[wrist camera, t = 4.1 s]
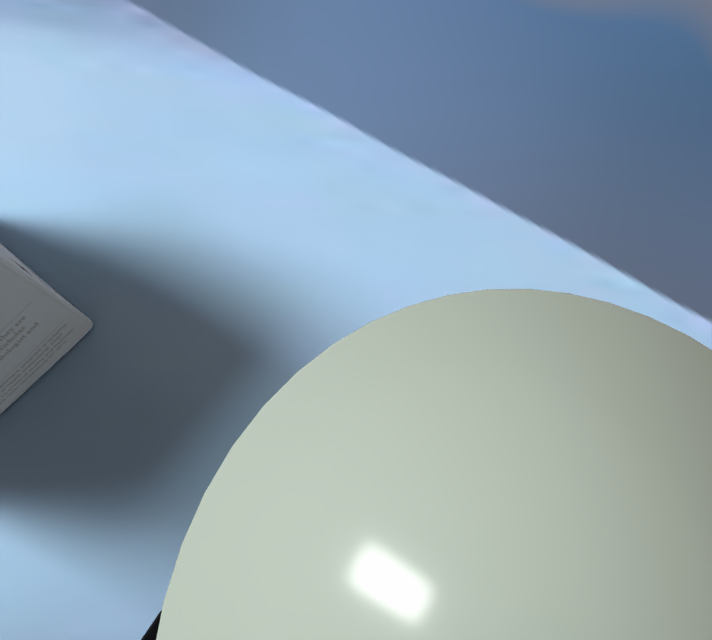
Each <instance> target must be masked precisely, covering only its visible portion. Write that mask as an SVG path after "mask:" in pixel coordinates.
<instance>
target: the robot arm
mask: <svg viewBox="0 0 712 640" xmlns="http://www.w3.org/2000/svg"><path fill="white" fill-rule="evenodd" d="M161 613H162V610H161V611H160V613H159V614H158V616H157V617H156V619H155V620H154V622H153V623H152V625H151V626H150V627H149V629H148V630H147V632H146V633H145V635H144V636H143V638H142V639H141V640H156V638H157V633H158V628H159V623H160V618H161Z"/></svg>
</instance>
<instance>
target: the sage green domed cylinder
mask: <svg viewBox="0 0 712 640" xmlns="http://www.w3.org/2000/svg"><path fill="white" fill-rule="evenodd" d="M156 640H712V350H711V349H709V348H708V347H706V346H704V345H703V344H701V343H699V342H698V341H696V340H695V339H693V338H691V337H690V336H688V335H686V334H684V333H682V332H680V331H678V330H675V329H673V328H671V327H669V326H667V325H665V324H663V323H661V322H659V321H657V320H655V319H653V318H651V317H648V316H645V315H643V314H640V313H637V312H634V311H631V310H628V309H626V308H623V307H620V306H617V305H614V304H611V303H608V302H604V301H600V300H595V299H591V298H587V297H582V296H578V295H574V294H569V293H561V292H551V291H542V290H533V289H493V290H481V291H474V292H467V293H460V294H453V295H447V296H443V297H440V298H436V299H432V300H429V301H425V302H422V303H418V304H414V305H411V306H408V307H405V308H403V309H400V310H398V311H396V312H393V313H391V314H389V315H386V316H384V317H382V318H379V319H377V320H375V321H372V322H370V323H368V324H366V325H365V326H363V327H361V328H360V329H358V330H356V331H355V332H353V333H351V334H349V335H348V336H346V337H344V338H343V339H341V340H339V341H338V342H336V343H334V344H332V345H331V346H330V347H329V348H327V349H326V350H325V351H323V352H322V353H321V354H320V355H318V356H317V357H316V358H314V359H313V360H312V361H311V362H309V363H308V364H307V365H305V366H304V367H303V368H302V369H300V370H299V371H298V372H297V373H296V374H295V375H294V376H293V377H292V378H291V379H290V380H289V381H288V382H287V383H286V384H285V385H284V386H283V387H282V388H281V389H280V390H279V391H278V392H277V393H276V394H275V395H274V396H273V397H272V398H271V399H270V400H269V401H268V402H267V403H266V404H265V405H264V406H263V407H262V408H261V410H260V411H259V412H258V414H257V415H256V416H255V417H254V419H253V420H252V421H251V423H250V424H249V425H248V427H247V428H246V429H245V430H244V432H243V433H242V434H241V436H240V437H239V438H238V439H237V441H236V442H235V443H234V445H233V446H232V448H231V449H230V451H229V453H228V454H227V456H226V458H225V459H224V461H223V463H222V464H221V466H220V468H219V470H218V471H217V473H216V475H215V476H214V478H213V480H212V481H211V483H210V485H209V486H208V488H207V490H206V491H205V493H204V496H203V498H202V500H201V502H200V505H199V507H198V509H197V511H196V514H195V516H194V518H193V520H192V523H191V525H190V527H189V529H188V532H187V534H186V536H185V538H184V541H183V543H182V545H181V549H180V552H179V555H178V558H177V561H176V564H175V568H174V571H173V574H172V577H171V580H170V583H169V587H168V590H167V593H166V596H165V599H164V602H163V607H162V613H161V618H160V623H159V628H158V633H157V638H156Z"/></svg>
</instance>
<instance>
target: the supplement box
mask: <svg viewBox="0 0 712 640" xmlns="http://www.w3.org/2000/svg"><path fill="white" fill-rule="evenodd" d="M92 327H93V322H92V320H90V319H89V318H88V317H87V316H85V315H84V314H83V313H82V312H80V311H79V310H78V309H77V308H75V307H74V306H73V305H72V304H70V303H69V302H68V301H67V300H66V299H64V298H63V297H62V296H61V295H59V294H58V293H57V292H56V291H55V290H54V289H52V288H51V287H50V286H49V285H48V284H47V283H45V282H44V281H43V280H42V279H41V278H40V277H39V276H37V275H36V274H35V273H34V272H33V271H32V270H30V269H29V268H28V267H27V266H26V265H25V264H23V263H22V262H21V261H20V260H19V259H18V258H17V257H16V256H14V255H13V254H12V253H11V252H10V251H9V250H8V249H6V248H5V247H4V246H3V245H2V244H1V243H0V414H1V413H2V412H3V411H4V410H5V409H7V408H8V407H9V406H10V405H11V404H12V403H13V402H14V401H15V400H17V399H18V398H19V397H20V396H21V395H22V394H23V393H24V392H25V391H26V390H27V389H28V388H29V387H31V386H32V385H33V384H34V383H35V382H36V381H37V380H38V379H39V378H40V377H41V376H42V375H43V374H45V373H46V372H47V371H48V370H49V369H50V368H51V367H52V366H53V365H54V364H55V363H56V362H57V361H58V360H59V359H60V358H61V357H63V356H64V355H65V354H66V353H67V352H68V351H69V350H71V349H72V348H73V347H74V346H75V345H76V344H77V343H78V342H79V341H80V340H81V339H82V338H83V337H84V336H85V335H86V334H87V333H88V331H89V330H90V329H91V328H92Z"/></svg>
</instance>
